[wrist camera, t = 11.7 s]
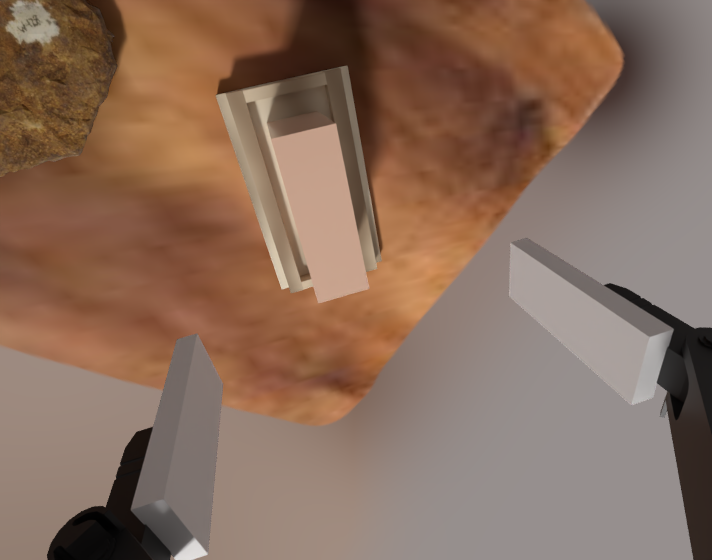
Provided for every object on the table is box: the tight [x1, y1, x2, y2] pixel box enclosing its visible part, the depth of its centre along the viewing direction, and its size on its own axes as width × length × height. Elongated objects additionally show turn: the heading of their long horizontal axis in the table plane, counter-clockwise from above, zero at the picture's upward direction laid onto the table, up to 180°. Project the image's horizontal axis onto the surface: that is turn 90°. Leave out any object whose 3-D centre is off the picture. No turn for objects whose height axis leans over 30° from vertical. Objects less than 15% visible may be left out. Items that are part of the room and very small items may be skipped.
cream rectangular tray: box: [216, 66, 382, 293], centre depth 33 cm, size 10×17×2 cm, turn 11°
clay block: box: [267, 111, 369, 303], centre depth 30 cm, size 12×4×8 cm, turn 11°
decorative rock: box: [0, 0, 117, 177], centre depth 24 cm, size 11×4×15 cm
